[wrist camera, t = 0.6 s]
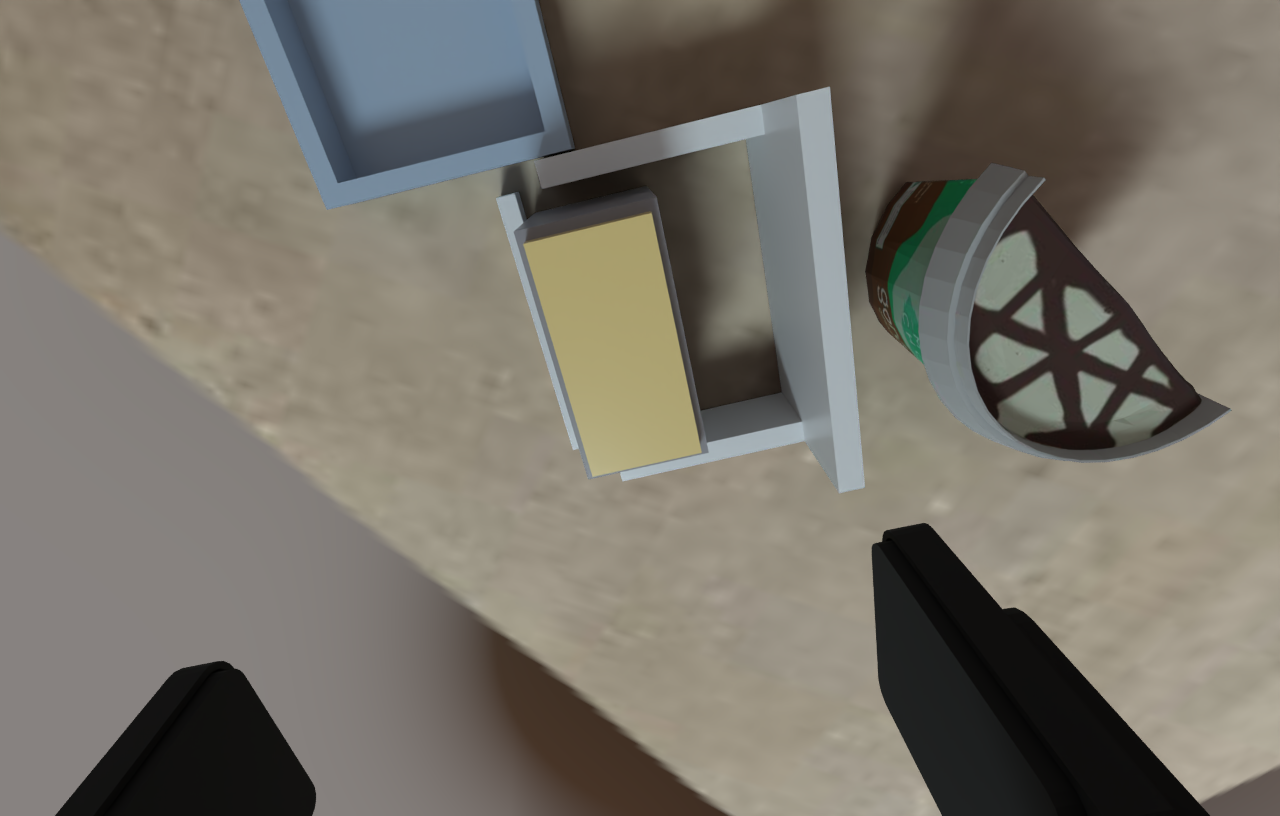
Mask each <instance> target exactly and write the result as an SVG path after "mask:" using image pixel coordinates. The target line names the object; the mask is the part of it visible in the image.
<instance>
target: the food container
mask: <svg viewBox="0 0 1280 816" xmlns="http://www.w3.org/2000/svg"><path fill="white" fill-rule="evenodd" d="M1044 181H1045V178H1041V177H1033V176H1028V174H1027V173H1026V172H1025V171H1024V170H1020V169H1016V168H1011V167H1007V166H1003V165H999V164H995V163H991V164H990V165H989V166H988V167H987V169H986V170H985V171H984V172H983V173H982V174H981V176H980V177H979V178H978V179H966V180H945V181H923V182H906V184H905V185H904V186H903V187H902V188H901V190H900V191H899V192H898V193H897V195H896V196H895V197H894V198H893V199H892V201H891V202H890V203H889V204H888V206H887V208H886V210H885V212H884V214H883V216H882V218H881V220H880V222H879V224H878V226H877V228H876V230H875V232H874V234H873V236H872V239H871V244H870V250H869V255H868V260H867V266H866V271H865V272H866V280H867V288H868V295H869V302H870V304H871V306H872V308H873V310H874V312H875V314H876V316H877V318H878V320H879V322H880V323H881V324H882V326H883V327H884V328H885V329H886V330H887V331H888V333H890V334H891V335H892V336H893V337H894V338H895V339H896V340H897V341H898V342H900V343H901V344H902V345H903V346H904V347H905V348H906V349H907V350H908V351H910V352H911V353H912V354H913V355H914V356H915V357H916V358H917V359H918V360H920V361H921V362H922V363H923V364H924V366H925V369H926V372H927V375H928V378H929V381H930V382H931V384H932V386H933V388H934V390H935V391H936V393H937V395H938V397H939V399H940V400H941V401H942V403H943V404H944V405H945V406H946V407H947V408H948V410H949V411H950V412H951V413H952V414H953V415H954V417H955V418H957V419H958V420H959V421H961V422H962V423H963V424H964V425H966V426H967V427H968V428H970V429H971V430H972V431H974V432H976V433H978V434H980V435H982V436H984V437H986V438H988V439H990V440H992V441H994V442H997V443H1000V444H1002V445H1005V446H1008V447H1010V448H1013V449H1015V450H1018V451H1021V452H1024V453H1028V454H1031V455H1034V456H1037V457H1040V458H1048V459H1055V460H1063V461H1073V462H1081V463H1084V462H1110V461H1116V460H1122V459H1129V458H1134V457H1137V456H1141V455H1144V454H1148V453H1151V452H1155V451H1158V450H1160V449H1163V448H1165V447H1167V446H1170V445H1172V444H1175V443H1177V442H1180V441H1182V440H1184V439H1186V438H1188V437H1190V436H1191V435H1193V434H1195V433H1197V432H1199V431H1200V430H1202V429H1204V428H1206V427H1208V426H1209V425H1211V424H1212V423H1214V422H1215V421H1217V420H1218V419H1220V418H1221V417H1223V416H1224V415H1225V414H1227V413H1228V412H1230V411H1231V409H1230V408H1228V407H1226V406H1223V405H1221V404H1219V403H1217V402H1215V401H1213V400H1211V399H1208V398H1206V397H1204V396H1202V395H1200V394H1198V393H1196V391H1195V389H1194V387H1193V386H1192V385H1191V384H1190V383H1188V382H1187V381H1186V380H1185V379H1184V378H1183V377H1182V376H1181V375H1180V374H1179V372H1178V371H1177V370H1176V369H1175V368H1174V366H1173V365H1172V364H1171V362H1170V361H1169V360H1168V359H1167V357H1166V356H1165V355H1164V354H1163V352H1162V351H1161V350H1160V348H1159V347H1158V346H1157V344H1156V343H1155V342H1154V340H1153V339H1152V337H1151V336H1150V334H1149V333H1148V331H1147V330H1146V328H1145V327H1144V325H1143V324H1142V322H1141V321H1140V319H1139V318H1138V317H1137V315H1136V314H1135V312H1134V311H1133V309H1132V308H1131V307H1130V305H1129V304H1128V303H1127V302H1126V301H1125V300H1124V298H1123V297H1122V296H1121V295H1120V294H1119V293H1118V292H1117V291H1116V290H1115V289H1114V288H1113V287H1112V286H1111V285H1110V284H1109V283H1108V282H1107V281H1106V280H1105V278H1104V277H1103V276H1102V275H1101V274H1100V273H1099V272H1098V271H1097V270H1096V269H1095V268H1094V267H1093V265H1092V264H1091V263H1090V262H1089V261H1088V260H1087V259H1086V258H1085V257H1084V255H1083V254H1082V253H1081V252H1080V251H1079V250H1078V249H1077V248H1076V247H1075V245H1074V244H1073V243H1072V242H1071V240H1070V239H1069V238H1068V237H1067V236H1066V234H1065V233H1064V232H1063V231H1062V230H1061V228H1060V227H1059V226H1058V225H1057V224H1056V222H1055V221H1054V220H1053V219H1052V218H1051V216H1050V215H1049V214H1048V213H1047V212H1046V210H1045V209H1044V208H1043V207H1042V206H1041V204H1040V203H1039V202H1038V201H1037V199H1036V198H1035V197H1034V196H1033V195H1032V194H1033V193H1034V192H1035V191H1036V190H1037V189H1038V188H1039V187H1040V186H1041V184H1042V183H1043V182H1044Z"/></svg>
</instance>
